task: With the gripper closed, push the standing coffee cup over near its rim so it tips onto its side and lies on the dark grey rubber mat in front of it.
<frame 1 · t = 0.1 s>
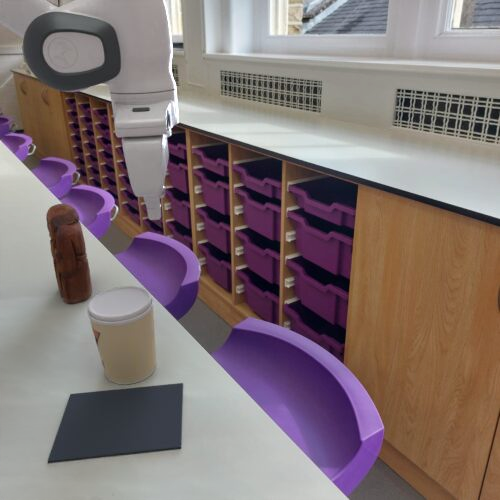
hand: (157, 207, 73), 23 cm above the table, tool pointing down, fingers open, 8 cm apart
wooden figurine: (76, 291, 98), on the table
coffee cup: (131, 369, 75), on the table
rubber mat: (121, 420, 65), on the table
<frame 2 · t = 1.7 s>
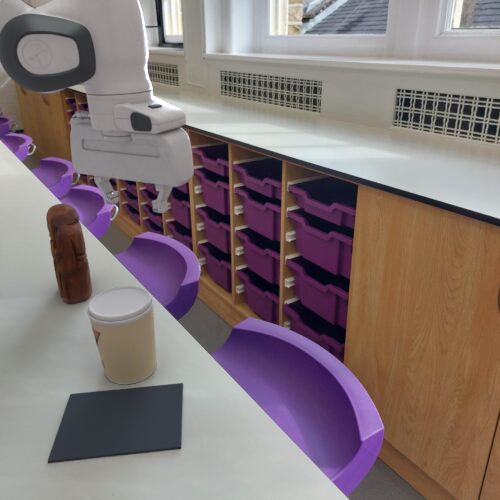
hand: (135, 207, 73), 23 cm above the table, tool pointing down, fingers open, 8 cm apart
nothing on the table moved.
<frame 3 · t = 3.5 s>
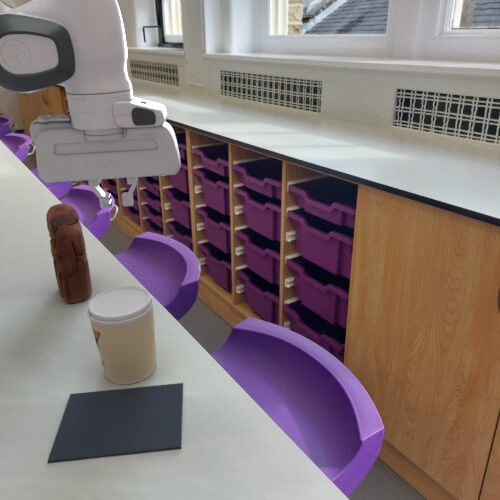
hand: (117, 205, 74), 23 cm above the table, tool pointing down, fingers closed
nothing on the table moved.
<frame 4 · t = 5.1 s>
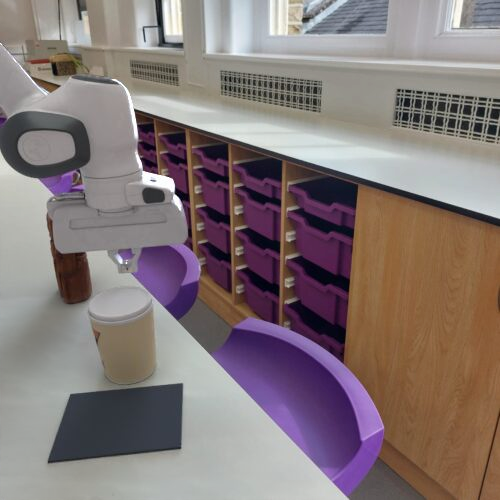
hand: (128, 271, 78), 12 cm above the table, tool pointing down, fingers closed
nothing on the table moved.
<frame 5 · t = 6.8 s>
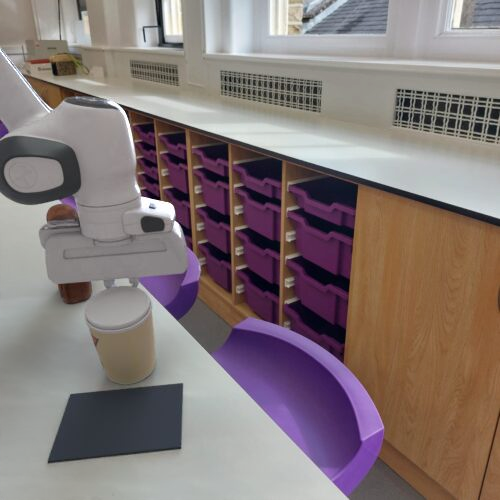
hand: (125, 301, 74), 10 cm above the table, tool pointing down, fingers closed, pressing on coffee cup
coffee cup: (130, 366, 75), on the table, touching gripper
everything else where it was.
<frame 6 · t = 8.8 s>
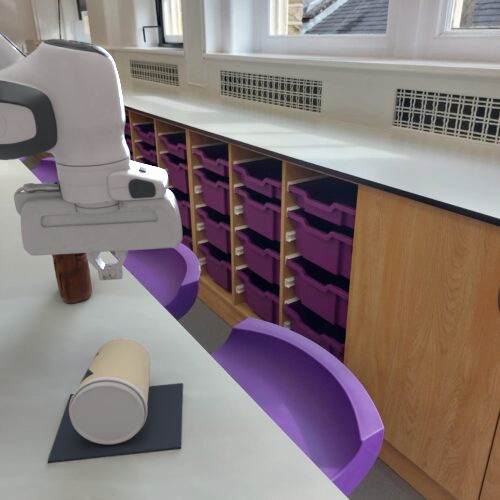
hand: (111, 278, 67), 16 cm above the table, tool pointing down, fingers closed
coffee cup: (123, 359, 70), point 4 cm above the table, touching rubber mat
everything else where it was.
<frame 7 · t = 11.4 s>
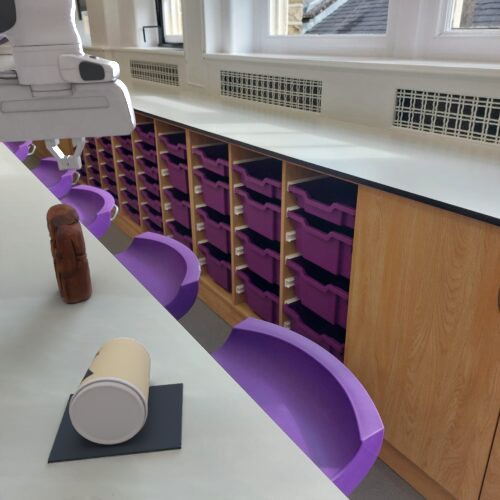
hand: (70, 168, 71), 29 cm above the table, tool pointing down, fingers closed
nothing on the table moved.
at the end: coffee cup tilted 86°; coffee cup touching rubber mat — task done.
